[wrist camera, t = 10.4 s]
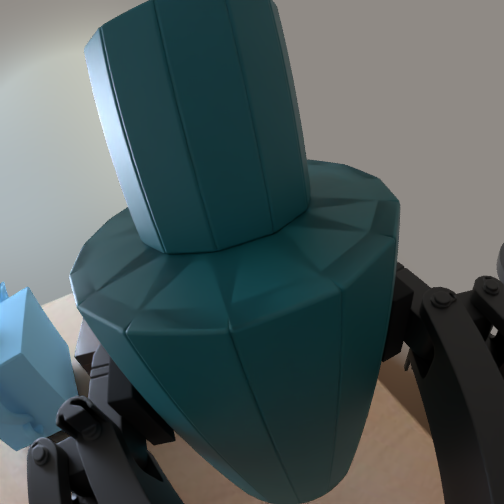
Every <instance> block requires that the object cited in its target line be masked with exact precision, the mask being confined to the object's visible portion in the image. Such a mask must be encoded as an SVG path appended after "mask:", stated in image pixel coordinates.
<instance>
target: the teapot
mask: <svg viewBox="0 0 504 504" xmlns="http://www.w3.org/2000/svg"><path fill="white" fill-rule="evenodd" d="M77 395H78V391H77V387H76V383H75V378H74V373H73V369H72V364H71V359H70V353H69V348H68V345H67V344H66V342H65V341H64V340H63V338H62V337H61V335H60V334H59V333H58V331H57V330H56V328H55V327H54V326H53V324H52V323H51V321H50V320H49V318H48V317H47V315H46V314H45V312H44V311H43V309H42V308H41V306H40V305H39V303H38V302H37V300H36V298H35V297H34V295H33V293H32V292H31V290H30V288H29V287H26V288H24V289H23V290H21V291H19V292H18V293H16V294H14V295H13V296H11V297H8V294H7V292H6V288H5V283H4V282H2V283H1V284H0V439H1V440H2V441H3V442H5V443H6V444H7V445H9V446H10V447H11V448H13V449H14V450H15V451H18V450H20V449H22V448H24V447H27V446H29V445H31V444H32V443H33V442H34V441H35V440H36V439H39V438H41V437H45V438H46V437H48V436H50V435H53V434H55V433H57V432H59V431H61V430H62V429H60V428H59V427H58V426H57V425H56V415H57V412H58V409H59V408H60V407H61V405H62V404H63V403H64V402H65V401H66V400H67V399H69V398H71V397H74V396H77ZM78 396H79V395H78Z"/></svg>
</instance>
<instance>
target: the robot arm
mask: <svg viewBox="0 0 504 504" xmlns="http://www.w3.org/2000/svg"><path fill="white" fill-rule="evenodd" d="M493 325H494V326H495V328H496V329H497V330H498V332H497V334H496V336H494V335H492V334H491V333H490V332H491V330H492V328H493ZM403 341H404V342H405V343H406V344H407V345H408V346H409V347H410V349H409V352H408V356H407V359H406V362H405V365H404V369H405V371H407V370H408V368H409V365H410V363H411V366H412V369H413V372H414V375H415V378H416V381H417V384H418V388H419V391H420V394H421V398H422V401H423V405H424V408H425V412H426V415H427V419H428V423H429V426H430V431H431V434H432V439H433V443H434V447H435V452H436V456H437V461H438V466H439V471H440V476H441V481H442V487H443V493H444V500H445V504H504V284H503V283H502V282H501V281H499V280H498V279H496V278H494V277H491V276H481V277H478V278H477V279H476V280H475V283H474V287H473V290H471V291H467V292H463V293H459V294H455V293H454V292H453V291H451V290H449V289H447V288H443V287H433V288H430V287H429V286H428V285H427V284H425V283H424V282H423V281H422V280H421V279H419V278H418V277H417V276H415V275H414V274H413V273H412V272H411V271H409V270H408V269H407V268H404V266H403V265H402V264H400V263H399V262H397V265H396V275H395V284H394V292H393V299H392V306H391V313H390V319H389V325H388V331H387V336H386V341H385V347H384V352H383V356H382V362H384V361H386V360H388V359H390V358H391V357H393V356H395V355H397V354H398V353H400V352H401V348H402V344H403ZM91 368H92V370H91V375H90V377H91V379H90V383H89V393H88V398H87V397H85V396H78V395H77V396H74V397H71V398H69V399H67V400H66V401H65V402H64V403H63V404H62V405H61V407H60V408H59V409H58V412H57V415H56V425H57V426H58V427H59V428H60V429H62V430H63V431H64V432H65V433H67V434H68V435H69V436H71V437H69V438H67V439H65V440H63V441H61V442H58V443H54V442H53V441H52V440H50V439H48V438H45V437H41V438H39V439H36V440H35V441H34V442H33V443H32V444H31V446H30V448H29V450H28V455H27V481H28V498H29V504H184V503H183V501H182V500H181V499H180V497H179V496H178V494H177V493H176V491H175V490H174V488H173V487H172V485H171V484H170V482H169V481H168V479H167V477H166V476H165V474H164V473H163V471H162V469H161V468H160V466H159V464H158V463H157V461H156V459H155V458H154V456H153V455H152V454H151V453H150V451H148V450H147V444H146V439H147V440H148V441H149V442H150V443H152V444H153V445H158V444H163V443H168V442H173V441H175V435H174V430H173V429H172V428H171V427H170V426H169V425H168V424H167V423H166V421H165V420H164V419H163V418H162V417H161V416H160V415H159V414H158V413H157V412H156V411H155V410H154V409H153V408H152V406H151V405H150V404H149V403H148V402H147V401H146V400H145V399H144V397H143V396H142V395H141V394H140V393H139V392H138V390H137V389H136V388H135V387H134V386H133V384H132V383H131V382H130V381H129V380H128V378H127V377H126V376H125V375H124V373H123V372H122V371H121V370H120V368H119V367H118V366H117V365H116V363H115V362H114V361H113V359H112V358H111V357H110V355H109V354H108V353H107V351H106V350H105V348H104V347H103V346H102V344H99V346H98V347H97V349H96V351H95V353H94V355H93V359H92V367H91ZM71 492H72V497H71Z"/></svg>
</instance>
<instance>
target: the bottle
mask: <svg viewBox="0 0 504 504" xmlns="http://www.w3.org/2000/svg"><path fill="white" fill-rule="evenodd" d="M84 53H85V58H86V63H87V67H88V72H89V77H90V81H91V86H92V90H93V94H94V98H95V102H96V106H97V110H98V113H99V117H100V121H101V124H102V128H103V132H104V135H105V138H106V142H107V145H108V148H109V152H110V155H111V158H112V161H113V164H114V167H115V170H116V173H117V176H118V179H119V182H120V185H121V188H122V191H123V194H124V197H125V199H126V202H127V205H128V207H127V208H126V209H124V210H123V211H121V212H120V213H118V214H116V215H115V216H114V217H112V218H111V219H109V220H108V221H107V222H106V223H105V224H104V225H103V226H102V227H101V228H100V229H99V230H98V231H97V232H96V233H95V234H94V235H93V236H92V237H91V238H90V239H89V240H88V241H87V242H86V243H85V244H84V246H83V247H82V249H81V251H80V253H79V255H78V257H77V259H76V261H75V263H74V266H73V268H72V270H71V272H70V282H71V286H72V290H73V294H74V298H75V302H76V306H77V309H78V310H79V312H80V313H81V315H82V316H83V318H84V319H85V321H86V323H87V324H88V326H89V327H90V329H91V330H92V331H93V333H94V334H95V336H96V337H97V339H98V340H99V342H100V343H101V344H102V346H103V347H104V348H105V350H106V351H107V353H108V354H109V355H110V357H111V358H112V359H113V361H114V362H115V363H116V365H117V366H118V367H119V368H120V370H121V371H122V372H123V373H124V375H125V376H126V377H127V378H128V380H129V381H130V382H131V383H132V384H133V386H134V387H135V388H136V389H137V390H138V392H139V393H140V394H141V395H142V396H143V397H144V399H145V400H146V401H147V402H148V403H149V404H150V405H151V406H152V408H153V409H154V410H155V411H156V412H157V413H158V414H159V415H160V416H161V417H162V418H163V419H164V420H165V421H166V423H167V424H168V425H169V426H170V427H171V428H172V429H173V430H174V431H175V432H176V433H177V434H178V435H179V436H180V437H181V438H182V439H183V440H184V441H186V442H187V443H188V444H189V445H190V446H191V447H192V448H193V449H194V450H195V451H196V452H197V453H198V454H199V455H201V456H202V457H203V458H204V459H205V460H206V461H207V462H208V463H210V464H211V465H212V466H213V467H214V468H215V469H217V470H218V471H219V472H220V473H221V474H223V475H224V476H225V477H226V478H228V479H229V480H230V481H231V482H233V483H234V484H235V485H236V486H238V487H239V488H240V489H242V490H243V491H244V492H246V493H247V494H249V495H251V496H253V497H255V498H257V499H259V500H262V501H265V502H268V503H272V504H301V503H306V502H309V501H312V500H315V499H317V498H319V497H321V496H323V495H325V494H326V493H328V492H329V491H331V490H332V489H333V488H334V487H335V486H337V485H338V483H339V482H340V481H341V480H342V479H343V478H344V476H345V475H346V474H347V472H348V470H349V468H350V465H351V463H352V460H353V458H354V455H355V453H356V450H357V447H358V444H359V441H360V438H361V435H362V432H363V429H364V425H365V422H366V419H367V416H368V412H369V409H370V405H371V402H372V398H373V394H374V390H375V386H376V382H377V378H378V374H379V370H380V365H381V361H382V356H383V352H384V347H385V341H386V336H387V331H388V325H389V319H390V313H391V306H392V299H393V292H394V284H395V275H396V265H397V255H398V254H397V253H398V242H399V241H398V240H399V225H400V203H399V200H398V199H397V198H396V197H395V196H394V194H393V193H392V192H391V191H390V190H389V189H388V188H387V186H385V184H384V183H383V182H382V181H381V180H380V179H379V178H377V177H375V176H373V175H370V174H368V173H365V172H363V171H361V170H358V169H355V168H353V167H350V166H348V165H345V164H338V163H331V162H323V161H316V160H307V159H306V152H305V145H304V138H303V132H302V126H301V120H300V114H299V109H298V103H297V97H296V92H295V86H294V81H293V76H292V71H291V67H290V61H289V56H288V52H287V47H286V43H285V38H284V34H283V29H282V25H281V21H280V17H279V13H278V9H277V6H276V5H275V3H274V2H273V1H272V0H149V1H147V2H145V3H142V4H140V5H138V6H136V7H134V8H132V9H130V10H128V11H127V12H125V13H123V14H121V15H119V16H117V17H115V18H114V19H112V20H110V21H108V22H107V23H105V24H103V25H102V26H101V27H100V28H98V30H97V31H96V32H95V34H94V35H93V36H92V38H91V39H90V41H89V42H88V43H87V45H86V46H85V49H84Z"/></svg>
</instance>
